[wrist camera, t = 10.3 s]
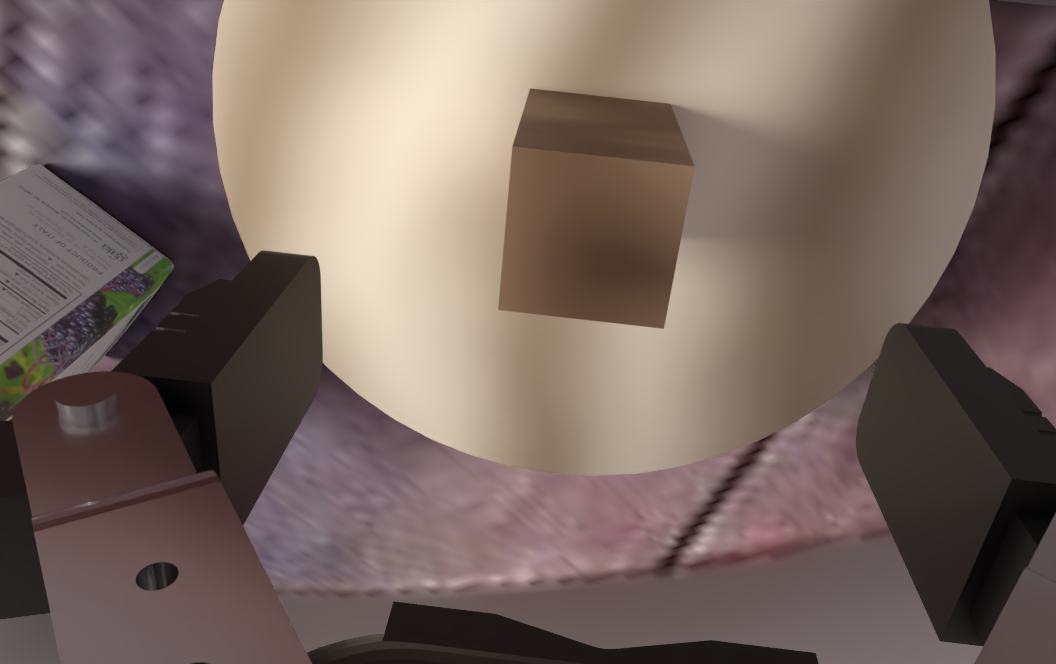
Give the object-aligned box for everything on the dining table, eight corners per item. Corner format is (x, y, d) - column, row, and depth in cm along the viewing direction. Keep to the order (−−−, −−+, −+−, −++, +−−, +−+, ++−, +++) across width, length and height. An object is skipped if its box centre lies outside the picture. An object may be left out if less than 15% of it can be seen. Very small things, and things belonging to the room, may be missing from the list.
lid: (1107, -247, 17) (1350, -314, 11) (857, 487, 25) (929, 648, 20) (198, -341, 17) (18, -449, 12) (249, 417, 25) (158, 558, 20)
